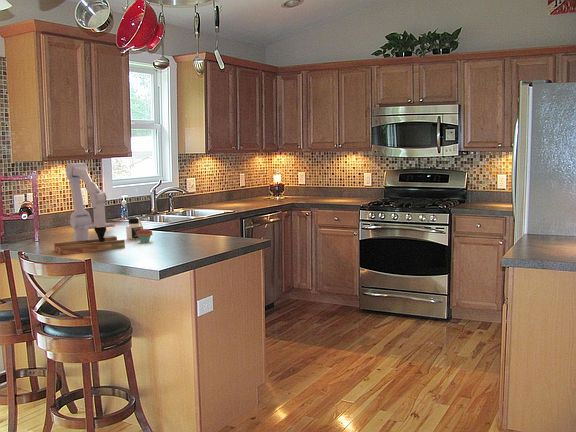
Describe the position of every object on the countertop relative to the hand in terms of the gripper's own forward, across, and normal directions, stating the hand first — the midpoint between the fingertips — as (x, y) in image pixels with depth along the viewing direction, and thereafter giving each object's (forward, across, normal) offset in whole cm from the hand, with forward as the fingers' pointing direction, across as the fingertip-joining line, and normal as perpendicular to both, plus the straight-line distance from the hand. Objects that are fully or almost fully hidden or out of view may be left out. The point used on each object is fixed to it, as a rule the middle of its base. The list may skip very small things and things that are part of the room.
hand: (101, 241), depth 330 cm
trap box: (+3, -6, 0) cm, 7 cm away
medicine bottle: (+3, +25, +21) cm, 33 cm away
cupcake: (+3, +25, +5) cm, 26 cm away
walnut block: (+1, +4, 0) cm, 4 cm away
